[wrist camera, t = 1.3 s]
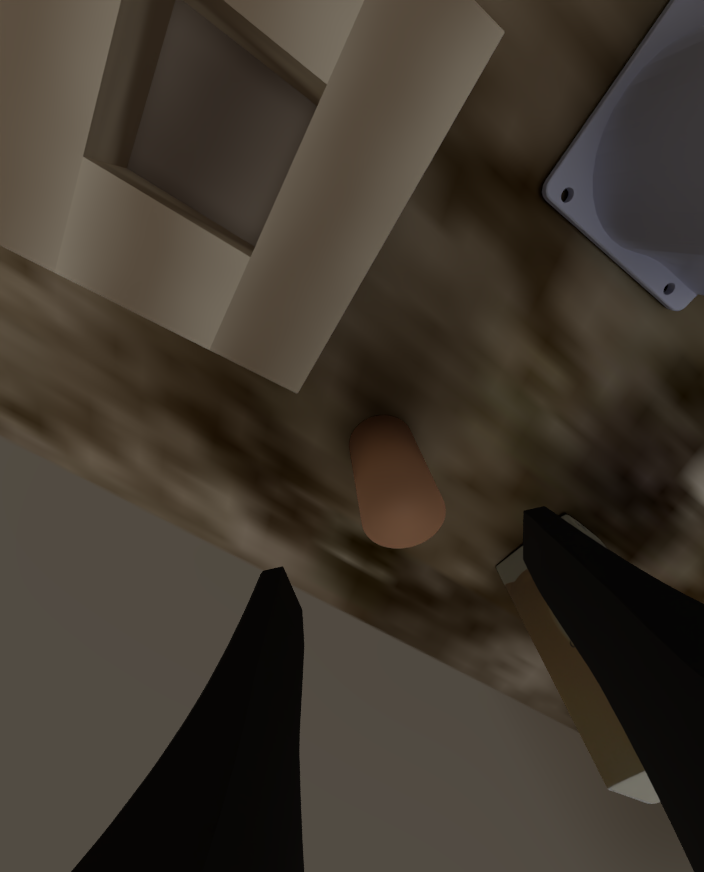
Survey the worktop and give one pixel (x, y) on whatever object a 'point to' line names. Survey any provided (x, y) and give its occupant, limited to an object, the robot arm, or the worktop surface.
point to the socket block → (226, 153)
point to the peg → (394, 484)
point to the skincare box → (577, 683)
